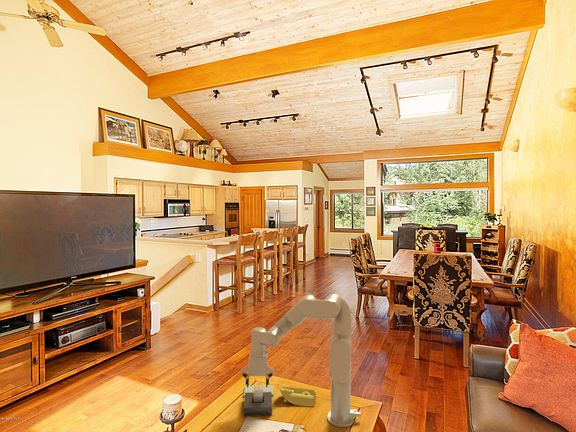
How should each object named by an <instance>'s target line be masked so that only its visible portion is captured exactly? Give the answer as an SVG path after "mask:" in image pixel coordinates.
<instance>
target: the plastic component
mask: <svg viewBox="0 0 576 432" xmlns="http://www.w3.org/2000/svg"><path fill="white" fill-rule="evenodd" d="M278 388H279V392H280V393H281V395H282V398H283V399H285V400H286V401H288V402H289V403H290V404H293V405H295V406H302V407H314V406H315V404H316V401H317V400H316V399H317V398H316V396H317V395H316V394H317V391H316V390H315V389H309V388H308V389H307V388H299V387H292V386H282V385H280V386H278Z"/></svg>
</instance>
